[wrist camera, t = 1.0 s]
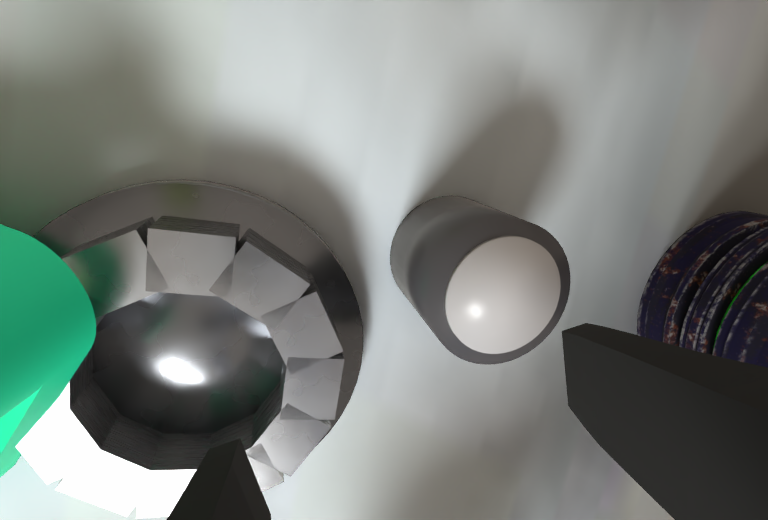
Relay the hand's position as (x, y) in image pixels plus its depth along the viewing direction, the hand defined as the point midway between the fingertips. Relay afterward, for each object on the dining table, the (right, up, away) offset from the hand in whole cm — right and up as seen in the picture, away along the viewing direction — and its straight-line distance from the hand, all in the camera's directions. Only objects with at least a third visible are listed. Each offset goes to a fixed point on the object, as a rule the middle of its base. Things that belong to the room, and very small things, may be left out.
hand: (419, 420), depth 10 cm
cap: (+2, +4, +10) cm, 11 cm away
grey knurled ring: (-8, 0, +8) cm, 12 cm away
